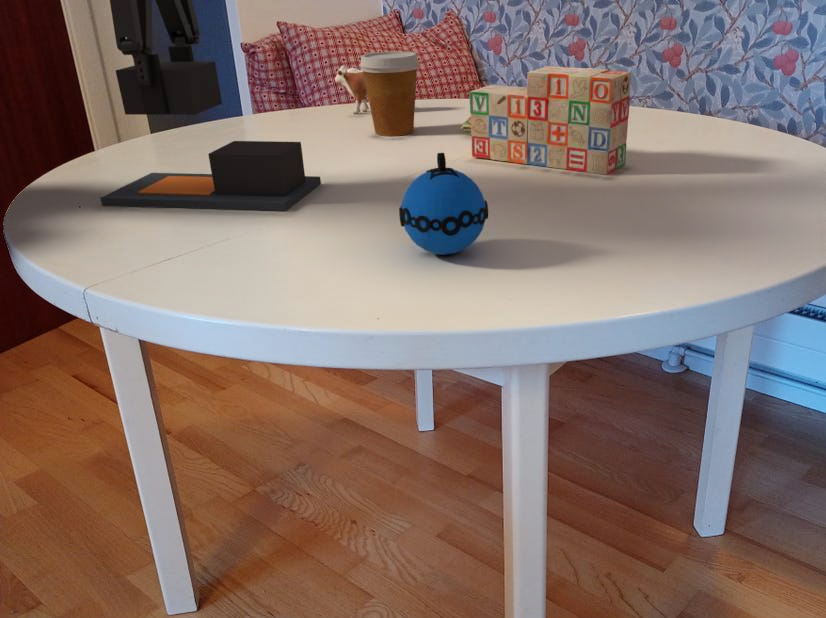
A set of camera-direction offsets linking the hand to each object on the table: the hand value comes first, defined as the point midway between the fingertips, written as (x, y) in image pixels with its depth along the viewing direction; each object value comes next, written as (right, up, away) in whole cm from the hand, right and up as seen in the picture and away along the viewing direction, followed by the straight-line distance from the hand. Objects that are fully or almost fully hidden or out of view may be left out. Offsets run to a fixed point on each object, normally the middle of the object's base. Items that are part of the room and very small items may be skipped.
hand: (174, 106), depth 99 cm
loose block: (0, 0, 0) cm, 0 cm away
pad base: (+3, -10, +5) cm, 11 cm away
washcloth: (+43, +7, +36) cm, 57 cm away
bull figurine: (+17, +15, +52) cm, 57 cm away
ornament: (+34, -20, -17) cm, 43 cm away
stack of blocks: (+46, -3, +16) cm, 49 cm away
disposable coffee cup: (+23, +7, +36) cm, 43 cm away
